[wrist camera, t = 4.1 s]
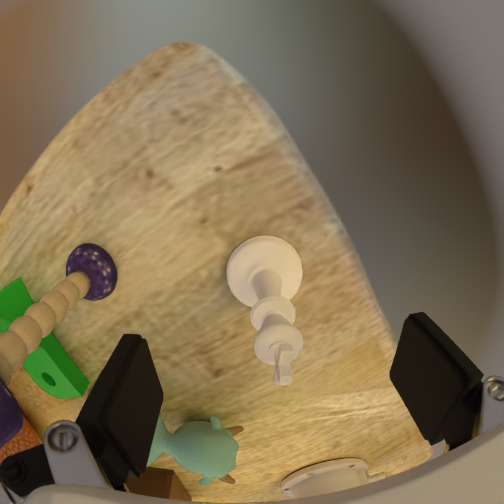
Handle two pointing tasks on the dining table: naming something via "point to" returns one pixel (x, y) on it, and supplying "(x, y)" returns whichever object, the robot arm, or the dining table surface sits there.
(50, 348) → the mechanical part
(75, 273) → the toy lamp
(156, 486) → the chest
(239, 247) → the chess piece
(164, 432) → the toy
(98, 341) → the dining table surface
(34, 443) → the planter
